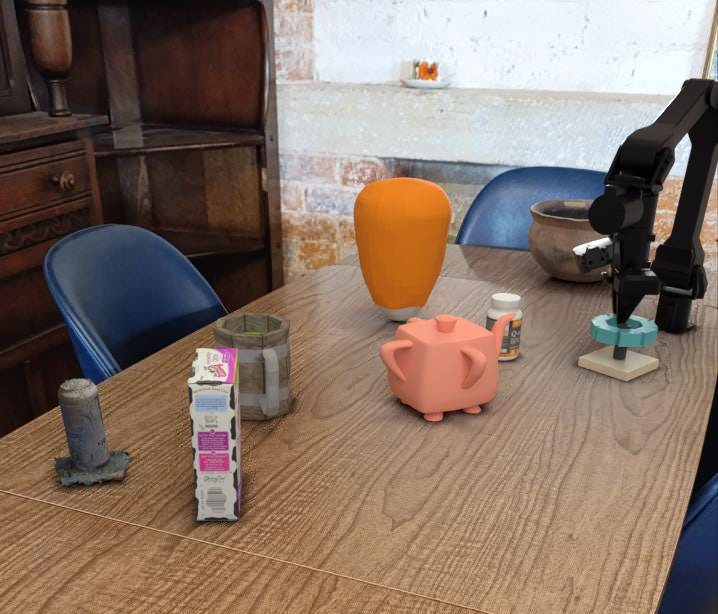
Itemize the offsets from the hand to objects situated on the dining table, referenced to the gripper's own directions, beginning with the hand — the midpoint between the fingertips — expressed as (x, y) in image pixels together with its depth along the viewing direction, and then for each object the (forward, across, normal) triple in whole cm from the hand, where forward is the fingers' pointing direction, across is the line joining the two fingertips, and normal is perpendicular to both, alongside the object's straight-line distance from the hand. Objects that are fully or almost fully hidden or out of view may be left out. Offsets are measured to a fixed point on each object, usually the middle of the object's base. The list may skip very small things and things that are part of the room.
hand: (618, 322), depth 141 cm
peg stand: (+6, +4, 0) cm, 7 cm away
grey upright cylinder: (+6, +46, -72) cm, 85 cm away
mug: (+6, +26, -54) cm, 61 cm away
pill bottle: (+6, 0, -18) cm, 19 cm away
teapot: (+6, +22, -28) cm, 36 cm away
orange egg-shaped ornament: (+6, -17, -35) cm, 40 cm away
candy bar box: (+6, +51, -55) cm, 76 cm away
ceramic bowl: (+6, -50, +2) cm, 50 cm away
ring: (+1, +4, 0) cm, 4 cm away
